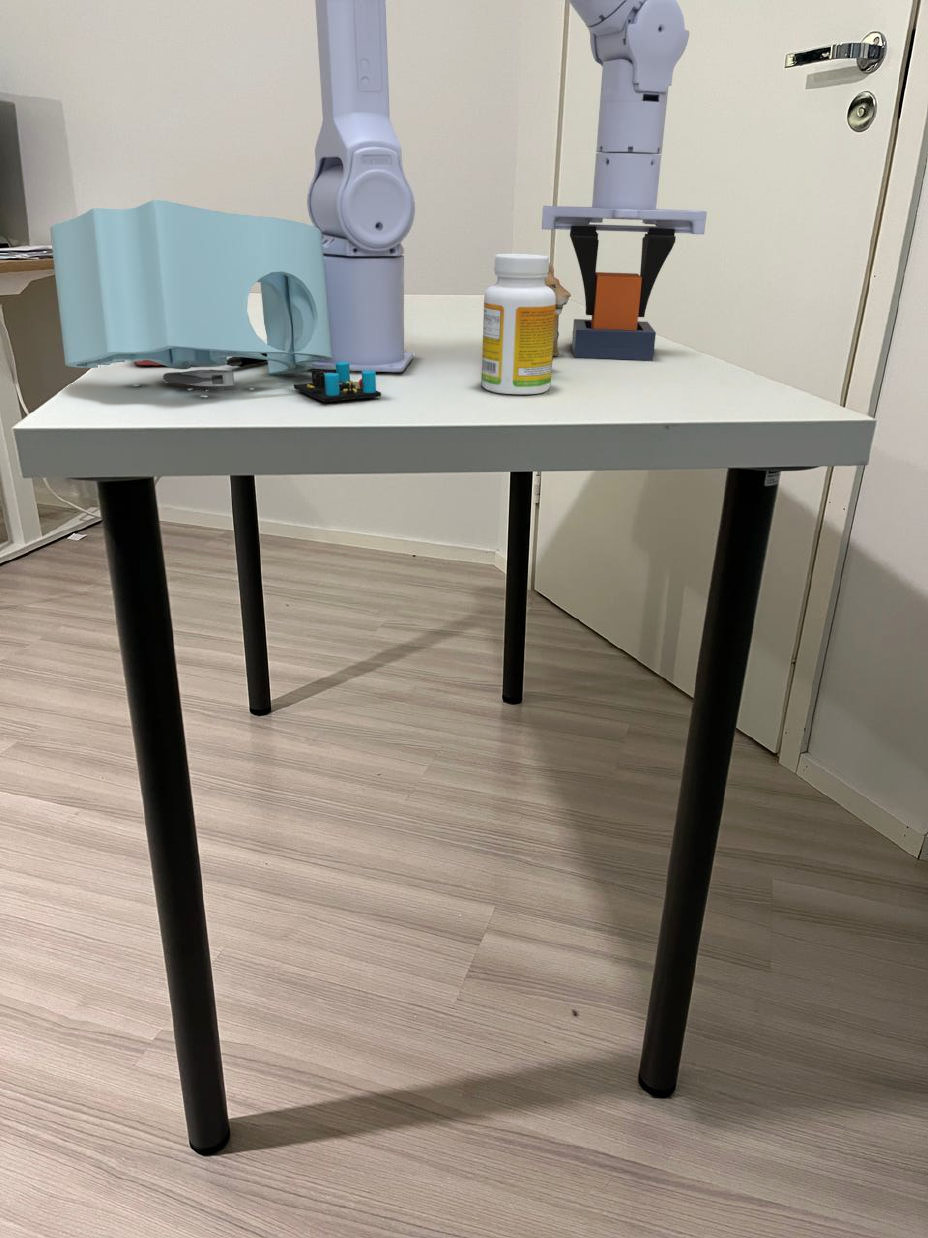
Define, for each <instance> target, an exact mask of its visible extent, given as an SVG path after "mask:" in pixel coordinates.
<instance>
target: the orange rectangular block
mask: <svg viewBox="0 0 928 1238" xmlns="http://www.w3.org/2000/svg"><path fill="white" fill-rule="evenodd" d="M641 282H642V277H641V276H640V273H639V274H638V273H636V272H634V273H632V272H603V271H601V272H600V271H596V274H595V308H594V316H593V315H591V319H590V320H591V328H592V329H618V330H637V323H638V321H639V317H638V313H639V303H640V293H641Z"/></svg>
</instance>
